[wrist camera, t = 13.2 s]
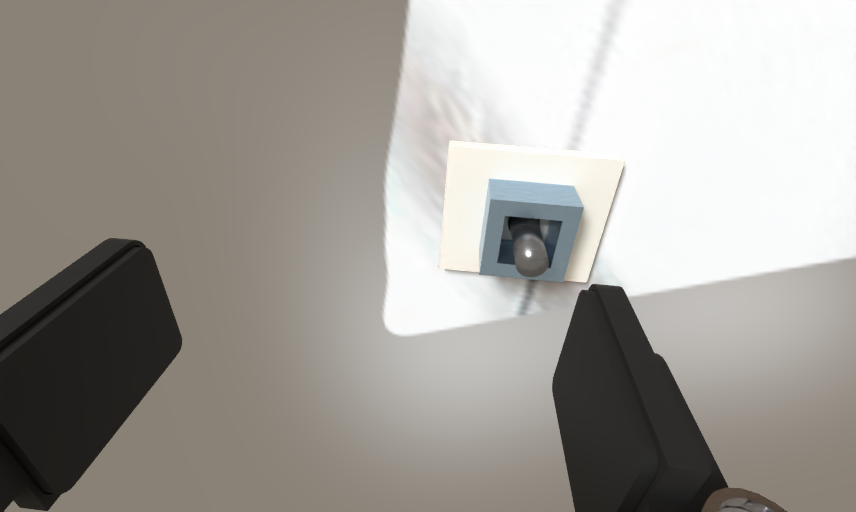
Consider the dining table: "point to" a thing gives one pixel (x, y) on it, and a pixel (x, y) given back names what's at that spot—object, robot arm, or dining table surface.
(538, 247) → the steel post
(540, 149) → the base plate
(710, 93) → the dining table surface
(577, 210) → the collar
